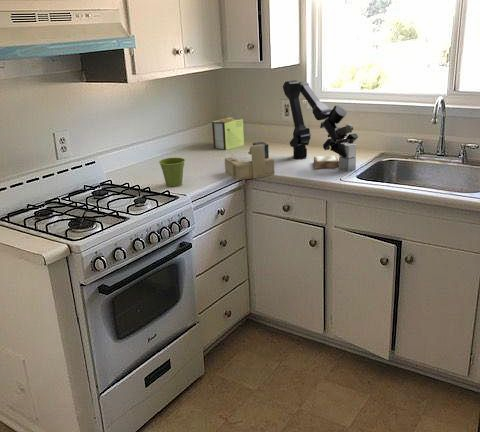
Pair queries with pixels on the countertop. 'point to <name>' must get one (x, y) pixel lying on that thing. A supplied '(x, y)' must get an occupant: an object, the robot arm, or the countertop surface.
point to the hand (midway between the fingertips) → (349, 156)
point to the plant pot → (172, 170)
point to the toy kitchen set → (250, 165)
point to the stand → (326, 162)
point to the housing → (348, 157)
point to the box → (264, 148)
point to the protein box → (228, 133)
